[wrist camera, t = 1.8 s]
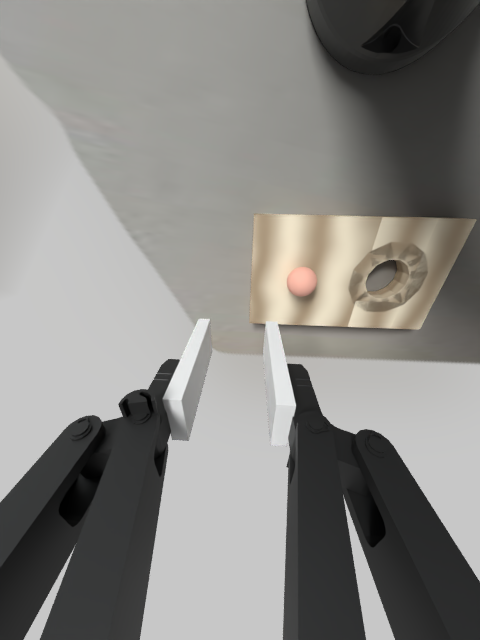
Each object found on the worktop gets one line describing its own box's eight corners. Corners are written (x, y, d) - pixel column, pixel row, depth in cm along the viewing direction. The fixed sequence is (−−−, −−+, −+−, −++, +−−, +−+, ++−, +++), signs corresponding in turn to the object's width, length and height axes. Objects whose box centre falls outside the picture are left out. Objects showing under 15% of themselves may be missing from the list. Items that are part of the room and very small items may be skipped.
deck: (249, 314, 32) (249, 323, 30) (254, 213, 25) (254, 214, 23) (407, 320, 31) (419, 329, 29) (456, 217, 25) (477, 219, 22)
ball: (302, 257, 25) (309, 264, 22) (318, 278, 26) (327, 288, 23) (279, 276, 26) (282, 285, 23) (295, 295, 28) (301, 306, 25)
